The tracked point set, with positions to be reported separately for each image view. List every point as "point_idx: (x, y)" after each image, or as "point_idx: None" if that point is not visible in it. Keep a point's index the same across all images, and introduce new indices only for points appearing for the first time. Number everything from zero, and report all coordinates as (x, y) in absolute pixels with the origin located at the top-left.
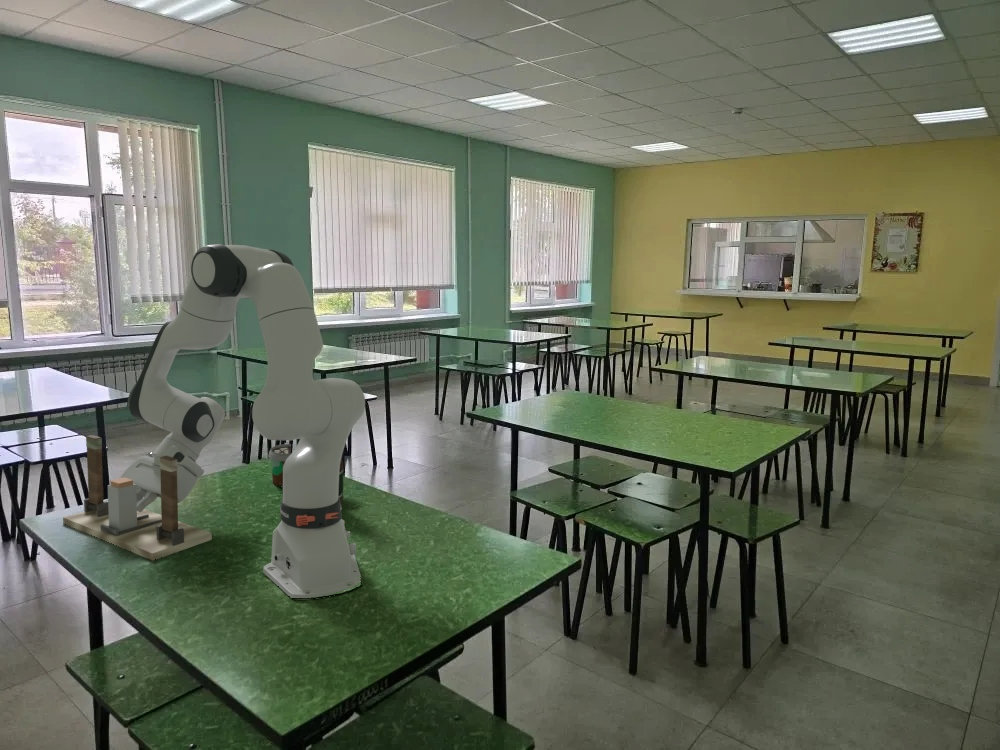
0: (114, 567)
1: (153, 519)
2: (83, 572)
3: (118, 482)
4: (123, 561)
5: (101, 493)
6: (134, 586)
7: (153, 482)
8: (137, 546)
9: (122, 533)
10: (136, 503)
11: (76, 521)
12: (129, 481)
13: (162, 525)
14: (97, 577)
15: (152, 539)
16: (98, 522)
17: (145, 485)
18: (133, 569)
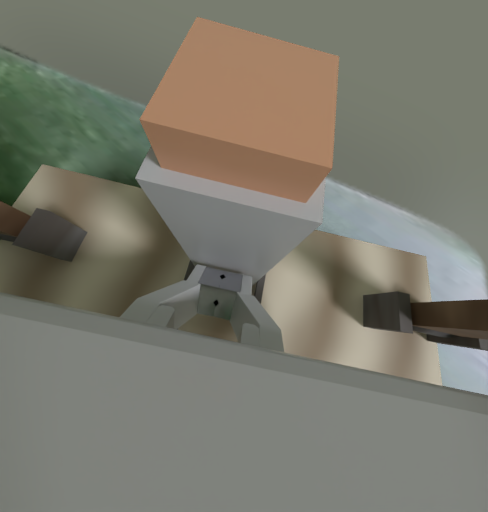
0: (121, 138)
1: None
2: None
3: (227, 34)
4: (123, 160)
5: (460, 320)
6: (28, 95)
7: (47, 398)
8: (108, 182)
9: None
10: (183, 249)
11: (374, 247)
12: (160, 94)
13: (15, 210)
14: (121, 106)
15: (98, 227)
16: (326, 264)
17: (179, 350)
18: (76, 140)
